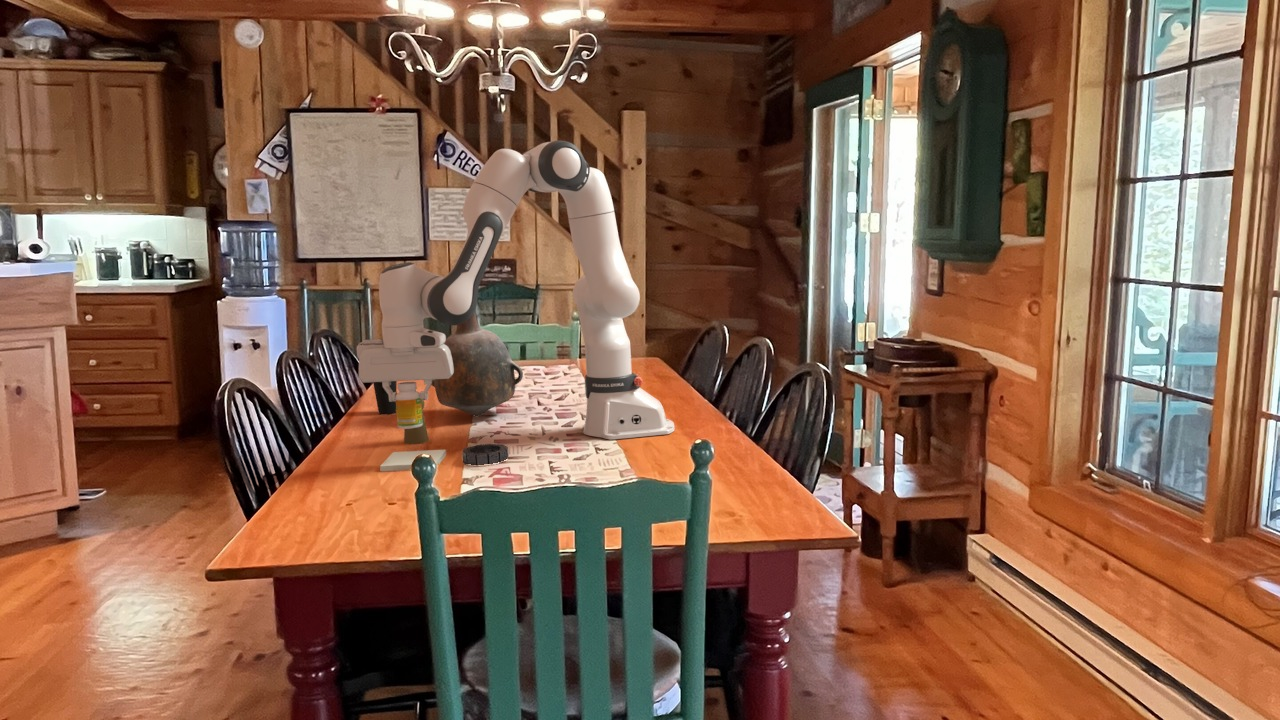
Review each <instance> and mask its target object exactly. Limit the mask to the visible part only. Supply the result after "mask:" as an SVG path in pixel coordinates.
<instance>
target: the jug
mask: <svg viewBox="0 0 1280 720" xmlns="http://www.w3.org/2000/svg"><path fill="white" fill-rule="evenodd" d="M456 326H457V327H456V331H455V333H452V334H451V335H449V336H448V337H446V341H445V343H444V344H445V345H447V346H448V348H449V349H450V352H451V356H452V361H453V367H454V373H453V375H452V376H451V377H450V378H449V379H432V384H431V387H433V388H434V390H435V394H436V399H437V400H438V402H439V404H440V405H442V406H445V407H448V408H453V409H456V410H459V411H462V412H464V413H466V414H469V415H470V416H473V417H476V416H478V417H481V416H482V415H484V414H485V413H486V412H488V411H489V410H490V409H493V408H496V407H497V406H500V405H502V404H504V403H506V402H509V400H512V398H513V397H514V395H515V391H516V385H518V384H519V383H520V382H521V381H522V379H523V376H524V373H523V370H522V368H521V366H520V365H518V364H517V363H515V361H513V360H512V357H511V355H510V353H509V350H508V349H507V348H508V347H506V345H505V343H504V341H503V340H502V339H501V338H500V337H499V335H497V334H496V333H495V332H493V331H490V330H488V329H483V328H482V327H481V326H480V325H479V322H478V320H477V315H476V311H475V312H474V314H473V315H472V316H471V318H470V319H468V320H467V321H466V322H464V323H462V324H459V325H456ZM515 371H516V372H517V374H518V377H517V378H516V376H515Z"/></svg>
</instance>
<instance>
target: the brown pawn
mask: <svg viewBox="0 0 1280 720" xmlns="http://www.w3.org/2000/svg"><path fill="white" fill-rule="evenodd" d="M421 407H422V420H423V425H422V426H421V427H417V428H411V429H403V430H404V432H403V443H404V444H405V445H419V444H424V443H427V442H430V439H429V433H428V431H427V430H428V429H427V426H426V420H425V416H424V411H423V410H424V408H425V400H421Z"/></svg>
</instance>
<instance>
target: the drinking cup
mask: <svg viewBox="0 0 1280 720" xmlns="http://www.w3.org/2000/svg"><path fill="white" fill-rule="evenodd" d="M372 383H373V390H374V394H375V400H376V404H377V405H376V406H377V410H378V415H381V414H387V415H393V414H397V411H396V401H393V402H389V395H388V394H387V392H386V391H385V389H384V388H383V386H382V382H372ZM389 387H390V388H391V390H392V391H393V392H397V388H398V381H391V385H390V386H389ZM392 413H393V414H392Z"/></svg>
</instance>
